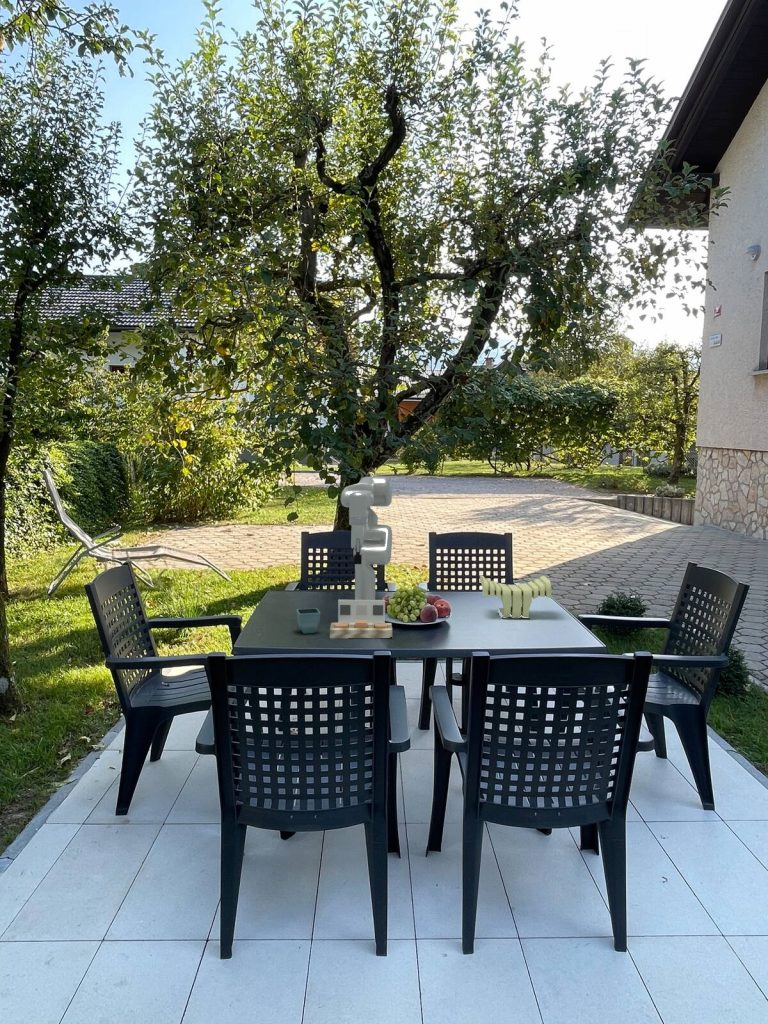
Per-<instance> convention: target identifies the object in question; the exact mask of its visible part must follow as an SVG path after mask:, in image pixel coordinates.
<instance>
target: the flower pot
mask: <svg viewBox="0 0 768 1024" xmlns="http://www.w3.org/2000/svg"><path fill="white" fill-rule="evenodd" d="M295 612H296V618H297V619H296V620H297V624H298V627H299V629H300V631H301V632H302V634H303V635H305V634H316V632H317V630H318V628H319V626H320V620H321V611H320V610H319V609H318V608H316V607H314V608H313V607H312V608H297V609H296V611H295Z"/></svg>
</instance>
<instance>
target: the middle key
mask: <svg viewBox="0 0 768 1024" xmlns="http://www.w3.org/2000/svg"><path fill="white" fill-rule="evenodd" d="M355 628H367V620H355Z"/></svg>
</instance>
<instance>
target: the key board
mask: <svg viewBox="0 0 768 1024" xmlns="http://www.w3.org/2000/svg"><path fill="white" fill-rule="evenodd" d="M336 623H337V622H331V623H330V628H329V639H348V638H390V637H392V638H393V626H392V625H393V624H392V622H386V623H387V628H375V623H367V628H355V623H348V628H335V624H336Z"/></svg>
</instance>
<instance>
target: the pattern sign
mask: <svg viewBox="0 0 768 1024" xmlns="http://www.w3.org/2000/svg"><path fill="white" fill-rule="evenodd" d="M337 601H338V603H337V606H338V607H337V608H338V609H337V611H338V614H337V623H355V620H367V623H386V620H385V619H386V600H385V599H375V600H355V599H338V600H337Z"/></svg>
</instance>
